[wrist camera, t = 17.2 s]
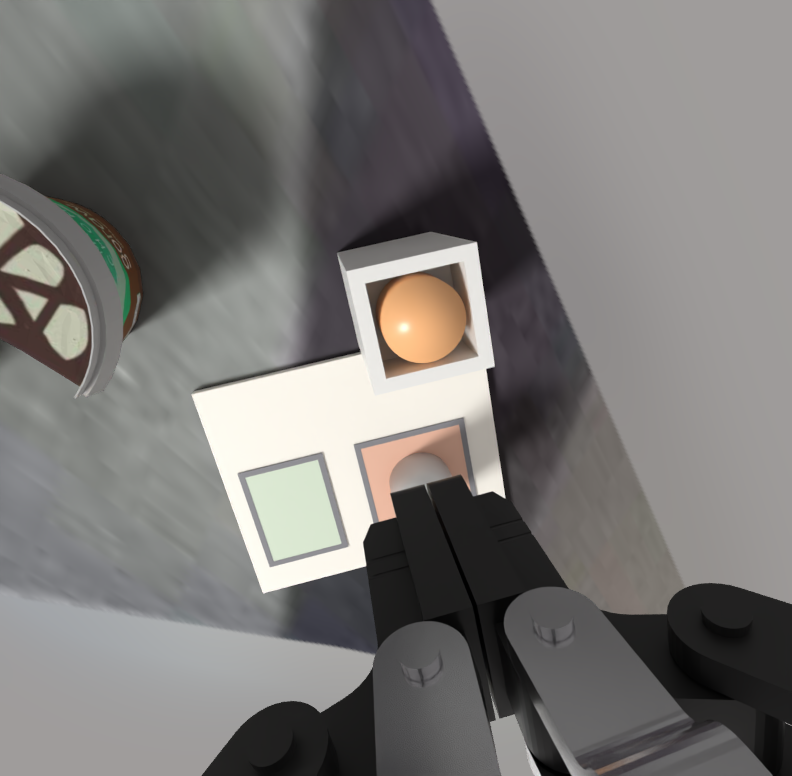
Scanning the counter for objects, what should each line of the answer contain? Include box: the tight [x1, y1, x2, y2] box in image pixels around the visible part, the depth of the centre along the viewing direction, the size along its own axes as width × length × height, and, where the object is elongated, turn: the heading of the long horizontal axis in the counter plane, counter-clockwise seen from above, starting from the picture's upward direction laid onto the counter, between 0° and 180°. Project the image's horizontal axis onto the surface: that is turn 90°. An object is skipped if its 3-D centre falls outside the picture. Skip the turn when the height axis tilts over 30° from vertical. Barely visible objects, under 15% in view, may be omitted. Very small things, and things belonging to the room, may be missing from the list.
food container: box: [0, 174, 143, 398], centre depth 26 cm, size 12×6×10 cm, turn 50°
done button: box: [376, 272, 466, 363], centre depth 26 cm, size 4×4×2 cm
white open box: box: [337, 232, 495, 396], centre depth 30 cm, size 6×6×10 cm
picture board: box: [192, 352, 505, 593], centre depth 38 cm, size 16×19×1 cm
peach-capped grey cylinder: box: [389, 453, 452, 493], centre depth 35 cm, size 5×5×8 cm
